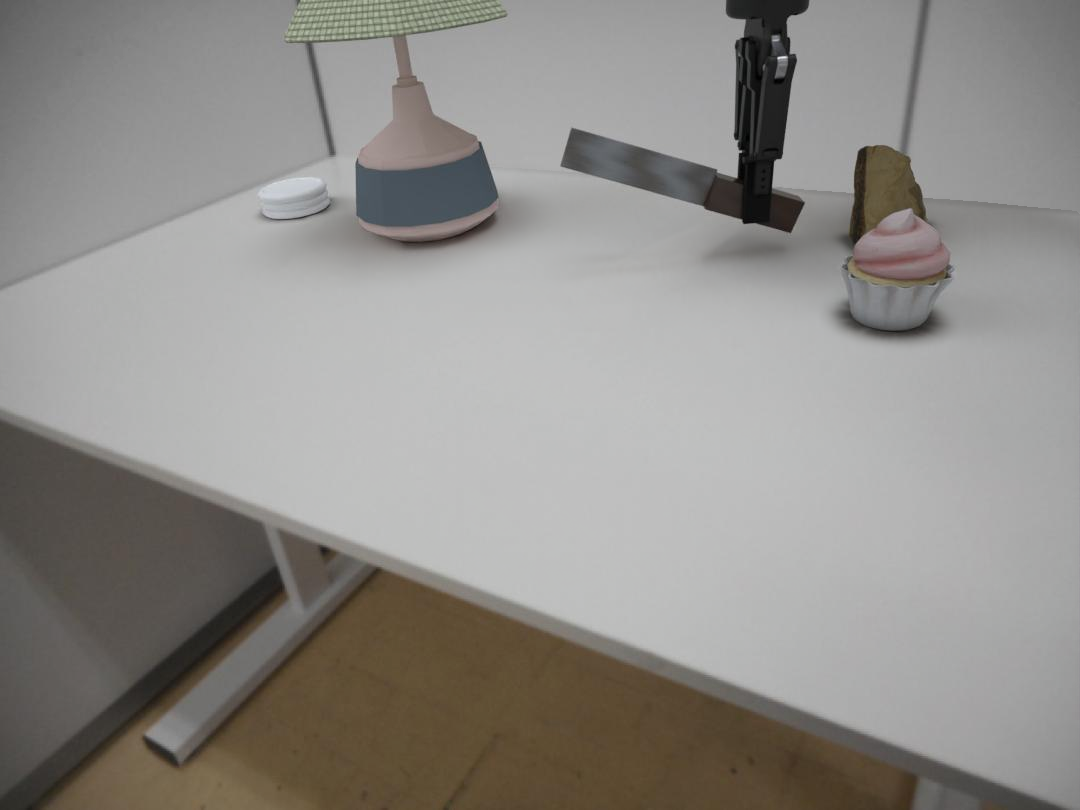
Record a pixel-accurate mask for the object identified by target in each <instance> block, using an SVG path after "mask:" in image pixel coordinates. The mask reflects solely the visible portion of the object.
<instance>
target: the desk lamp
mask: <svg viewBox="0 0 1080 810" xmlns="http://www.w3.org/2000/svg"><path fill="white" fill-rule="evenodd" d="M508 15H509V12H508V10H507V9H506V8H505V7H504V6H503V5H502V4H501V2H500V1H499V0H299V2H298V5H297V6H296V9H295V11H294V13H293V15H292V17H291V20H290V22H289V24H288V27H287V29H286V31H285V32H284V34H283V37H282V41H284V42H285V43H286V44H319V43H336V42H337V43H339V42H354V41H367V40H368V41H369V40H377V39H385V38H392V42H393V48H394V53H395V59H396V65H397V69H398V75H399V77H397V78H396V84H393V85H392V86H391V99H392V102H391V103H392V120H390V122H389V123H388V124H387V125H386V126H385V127H384V128H383V129H381V131H379V132H378V133H377V134H376V135H375V136H374V137H373V138H371V140H370V141H369V142H368V143H366V145H365V146H364V147H362V148H360V149H359V151H358V155H357V158H356V160H355V163H354V164H355V207H356V208H355V211H356V212H355V214H356V216H357V217H358V221H359V222H358V223H359V225H360V226H361V227H362V228H364V229H365V230H366V231H367V232H370V233H372V234H375V235H377V236H381V237H385V238H388V239H390V240H396V241H398V242H403V243H404V242H405V243H425V242H432V241H440V240H444V239H449V238H452V237H456V236H459V235H461V234H465V233H466V232H468V231H470V230H473V229H474V228H475V227H476V226H478V225H480V224H481V223H482V222H483V221H485V220H487V218H488V217H491V215H492V214H493V213H494V212H495V211H496V210H497V209H498V208H499V206H500V205H499V200H498V199H499V197H500V196H499V192H498V187H497V185H496V182H495V180H494V176H493V173H492V169H491V167H490V164H489V161H488V158H487V156H486V152H485V149H484V146H483V142H482V141H480V140H479V139H478V136H477V135H476V134H474V133H470V132H469V131H467V130H465V129H463V128H462V127H459V126H457V125H455V124H453V123H452V122H450V121H447V120H445V119H443V118H441V117H440V116H438V115H435V113H434V112H433V108H432V105H431V102H430V100H429V95H428V93H427V89H426V86H425V83H424V82H423V81H418V78H417V75H413V69H412V63H411V57H410V51H409V45H408V39H407V36H411V35H412V36H413V35H418V34H427V33H434V32H440V31H445V30H451V29H456V28H457V29H458V28H461V27H466V26H472V25H477V24H483V23H488V22H491V21H496V20H499V19H503V18H507V17H508Z"/></svg>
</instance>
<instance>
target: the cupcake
mask: <svg viewBox="0 0 1080 810" xmlns="http://www.w3.org/2000/svg"><path fill="white" fill-rule="evenodd" d="M842 259H843V264H840V265H839V267H838V269H839V271H840V274H841V276H842V277H843V280H844V283H845V286H846V291H847V296H848V304H849V312H850V314H851V316H852V318H853V320H855V321H856V322H858V323H859V324H861V325H863V326H865V327H867V328H871V329H875V330H880V331H881V330H882V331H893V332H895V331H897V332H898V331H899V332H900V331H908V330H912V329H915V328H918V327H921V326H922V325H923V324H924V323H925V322H926V321H927V320H928V317H929V315H930V313H931V311H932V310H933V308H934V306H935V303H936V302H937V299H938V298H939V297H940V294H941V293H942V292H943V291H944V290H945V289H946V288H947V287H949V285H950V284H951V283H952V282H953V281H954V280H955V279H956V277H955V275H954V274H952V273H953V272H954V271H955V270H956V268H957V266H955V265H954V264H950V261H951V252H950V251H949V249H948V247H947V246H946V245H945V244H944V242H942V237H941V234H940V232H939V231H938V230H937V229H935V228H934V227H933V226H931V224H929V223H928V222H927V221H926V222H925V221H923V220H922V219H921V218H919V217H917V216H915V215H914V214H913V210H912V209H906V210H903V211H899V212H895V213H893V214H891V215H889V216H887V217H886V218H884V219H883V220H882V221H881V222H880V223H879V224H878V226H877V228H875V229H873V230H871V231H869V232H868V233H866V234H865V235H864V236H862V237H861V238H860V240H859V241H858V242H857V243H856V244H855V245H854V248H853V254H852V255H847V256H844V258H842Z"/></svg>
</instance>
